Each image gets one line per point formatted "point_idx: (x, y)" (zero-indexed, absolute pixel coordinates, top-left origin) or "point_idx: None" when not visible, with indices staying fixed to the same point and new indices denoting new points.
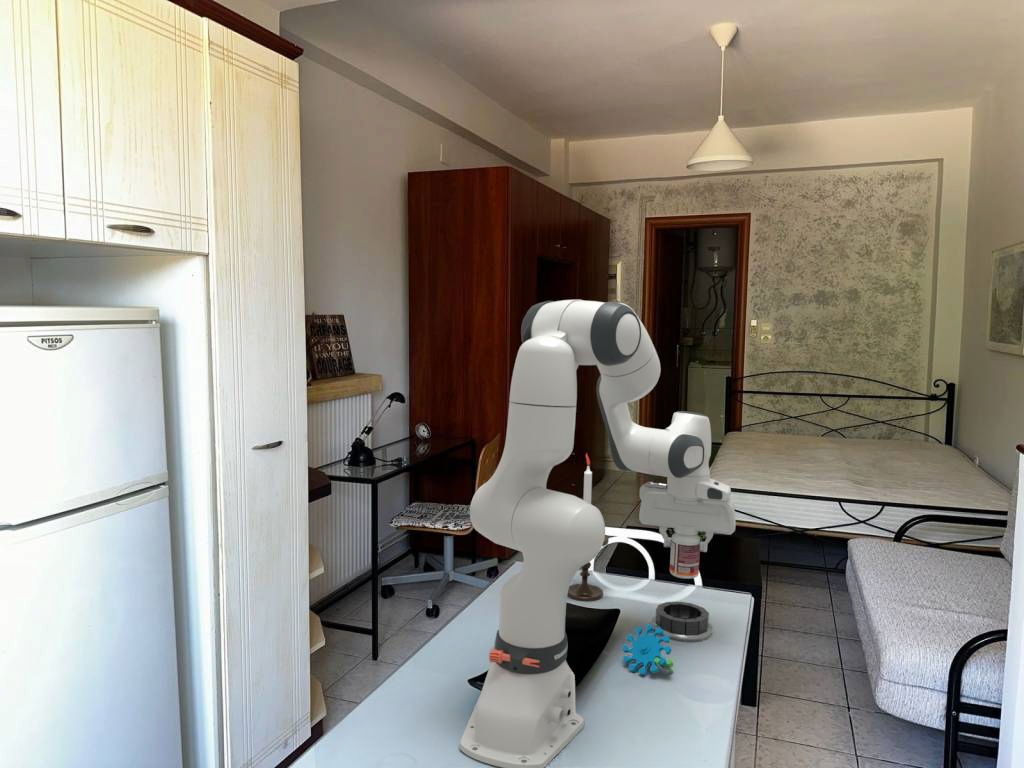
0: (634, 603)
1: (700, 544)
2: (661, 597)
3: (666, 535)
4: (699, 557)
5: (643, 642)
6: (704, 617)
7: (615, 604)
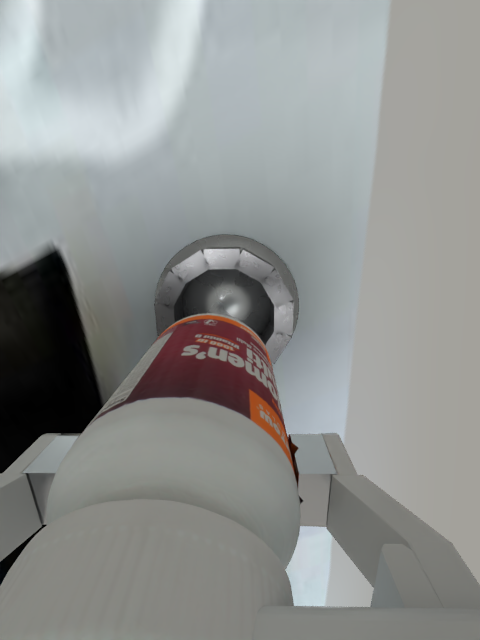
0: (75, 189)
1: (301, 522)
2: (127, 95)
3: (4, 519)
4: (281, 410)
5: None
6: (284, 335)
7: (35, 222)
